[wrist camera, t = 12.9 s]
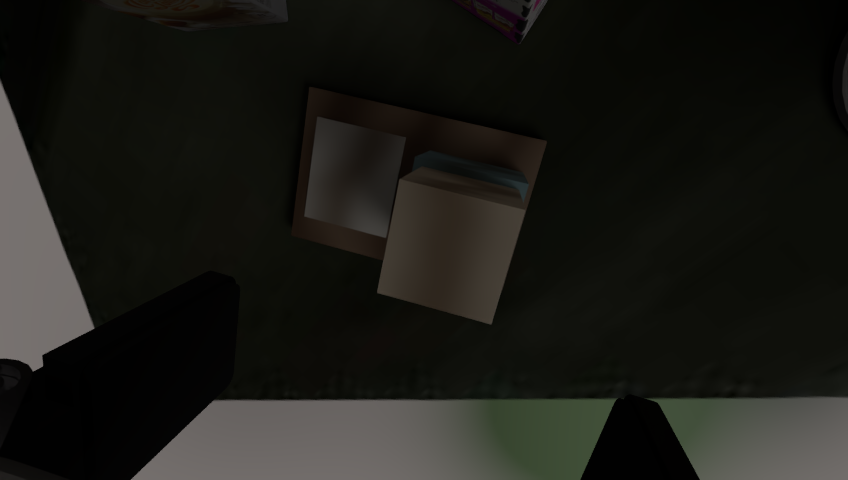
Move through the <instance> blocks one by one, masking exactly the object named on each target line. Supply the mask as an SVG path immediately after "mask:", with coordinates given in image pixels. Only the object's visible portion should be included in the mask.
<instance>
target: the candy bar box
mask: <svg viewBox="0 0 848 480" xmlns="http://www.w3.org/2000/svg"><path fill="white" fill-rule="evenodd" d="M452 1H454V2H455V3H457V4H458V5H460V6H461V7H463V8H464V9H466V10H467V11H469V12H470V13H472V14H473V15H475V16H476V17H478V18H479V19H481V20H482V21H484V22H485V23H487V24H488V25H490V26H491V27H493V28H494V29H496V30H497V31H499V32H500V33H502V34H503V35H505V36H506V37H508V38H509V39H511V40H512V41H514V42H515V43H517V44H520V43H521V42H522V40H523V38H524V37H525V35H526V34H527V32H528V31H529V29H530V27H531V26H532V24H533V23H534V21H535V20H536V18H537V17H538V15H539V13H540V12H541V10H542V9H543V7H544V6H545V4H546V2H547V1H548V0H452Z"/></svg>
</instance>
